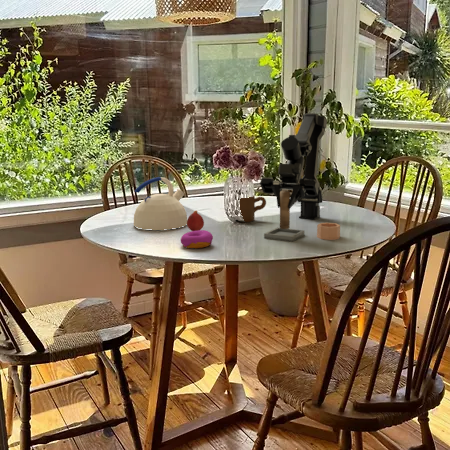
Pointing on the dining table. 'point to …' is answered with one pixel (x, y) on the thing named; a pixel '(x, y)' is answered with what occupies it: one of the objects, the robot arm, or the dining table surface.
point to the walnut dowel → (284, 210)
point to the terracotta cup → (328, 231)
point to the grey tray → (284, 234)
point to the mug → (250, 207)
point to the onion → (195, 221)
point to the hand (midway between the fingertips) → (283, 207)
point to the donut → (197, 239)
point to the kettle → (160, 209)
